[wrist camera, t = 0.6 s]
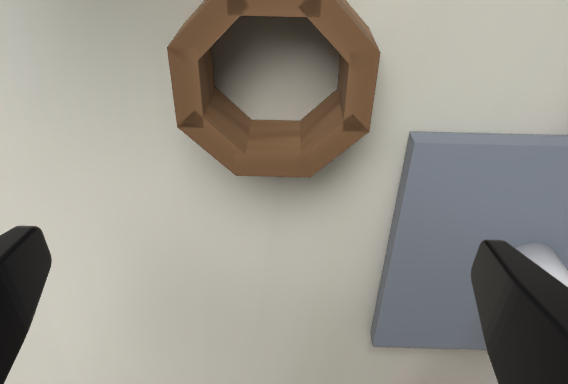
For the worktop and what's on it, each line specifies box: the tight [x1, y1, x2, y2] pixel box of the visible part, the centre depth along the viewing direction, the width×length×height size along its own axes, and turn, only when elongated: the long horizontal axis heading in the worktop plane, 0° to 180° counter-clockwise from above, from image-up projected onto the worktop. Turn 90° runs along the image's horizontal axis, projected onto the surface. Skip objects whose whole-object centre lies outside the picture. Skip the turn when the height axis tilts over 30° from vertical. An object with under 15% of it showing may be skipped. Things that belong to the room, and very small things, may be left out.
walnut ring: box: [167, 0, 380, 177], centre depth 18 cm, size 7×7×3 cm
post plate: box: [371, 132, 568, 350], centre depth 23 cm, size 14×14×5 cm
